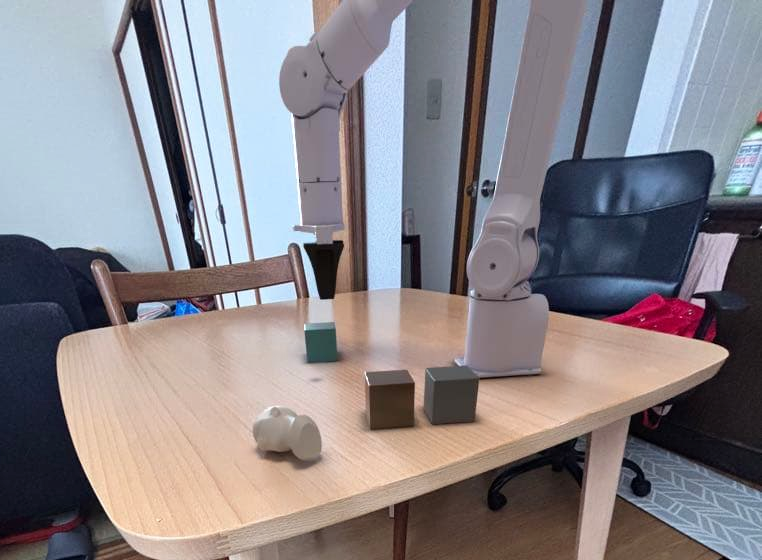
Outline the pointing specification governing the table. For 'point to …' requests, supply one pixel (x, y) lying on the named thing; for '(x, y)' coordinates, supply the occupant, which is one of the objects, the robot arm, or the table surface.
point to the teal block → (321, 342)
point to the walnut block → (389, 399)
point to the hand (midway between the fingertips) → (327, 298)
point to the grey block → (450, 394)
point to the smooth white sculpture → (287, 432)
